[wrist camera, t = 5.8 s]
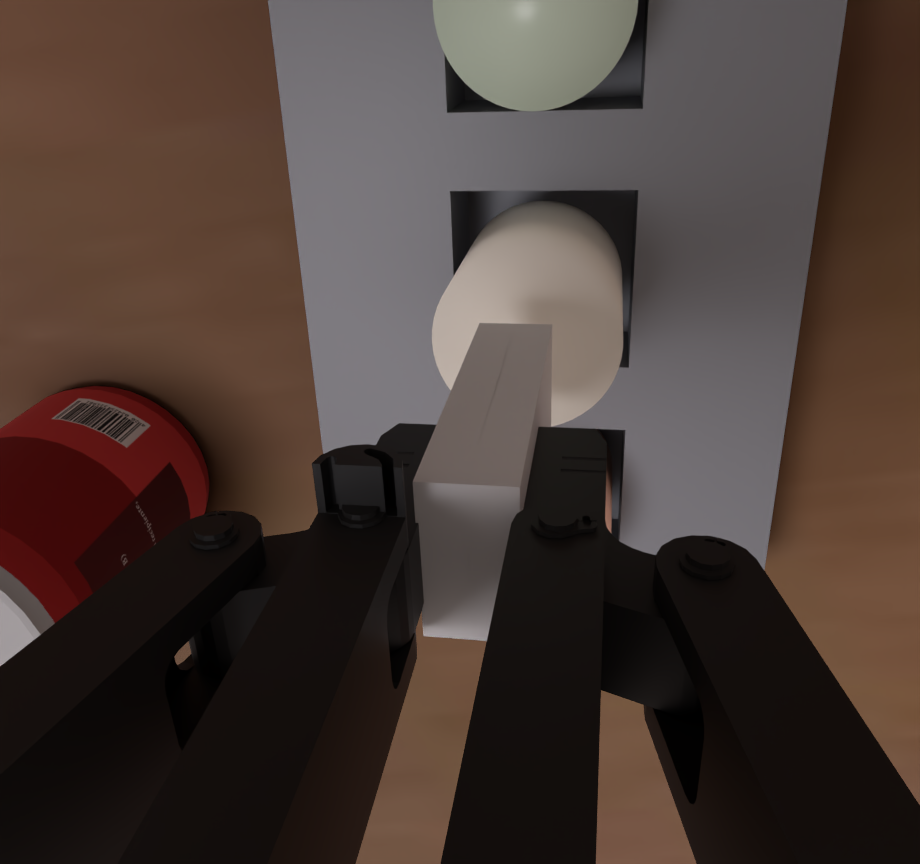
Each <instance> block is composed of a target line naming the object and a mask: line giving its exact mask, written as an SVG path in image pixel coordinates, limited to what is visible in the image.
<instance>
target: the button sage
mask: <svg viewBox="0 0 920 864" xmlns="http://www.w3.org/2000/svg"><path fill="white" fill-rule="evenodd" d="M637 7H638V0H433V14H434V22H435V27H436V31H437V36H438V38H439V41H440V44H441V47H442V49H443V52H444V54H445V56H446V58H447V60H448V61H449V63H450V65H451V66H452V68H453V69H454V71H455V72H456V73H457V75H458V76H459V77H460V78H461V79H462V80H463V82H464V83H465V84H467V85H468V86H469V87H470V88H471V89H472V90H473V91H474V92H476V93H477V94H479V95H480V96H482V97H483V98H485V99H486V100H488V101H490V102H492V103H494V104H497V105H499V106H502V107H505V108H508V109H514V110H519V111H533V112H534V111H545V110H550V109H554V108H559V107H561V106H564V105H567V104H569V103H572V102H574V101H576V100H577V99H579V98H581V97H583V96H584V95H586V94H587V93H589V92H590V91H591V90H593V89H594V88H595V87H596V86H597V85H598V84H600V83H601V82H602V81H603V80H604V79H605V78H606V77H607V75H608V74H609V73H610V72H611V71H612V69H613V68H614V67H615V65H616V64H617V62H618V61H619V59H620V58H621V56H622V54H623V52H624V50H625V48H626V46H627V44H628V42H629V39H630V36H631V34H632V31H633V28H634V23H635V19H636V15H637Z"/></svg>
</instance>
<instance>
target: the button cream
mask: <svg viewBox="0 0 920 864" xmlns="http://www.w3.org/2000/svg"><path fill="white" fill-rule="evenodd" d="M479 323H510V324H552V397H551V427H552V426H556V425H560V424H563V423H565V422H568V421H570V420H573V419H574V418H576V417H578V416H580V415H582V414H583V413H585V412H586V411H587V410H589V409H590V408H591V407H593V406H594V405H595V404H596V403H597V402H598V401H599V400H600V399H601V398H602V397H603V395H604V394H605V393H606V392H607V390H608V389H609V387H610V385H611V384H612V382H613V380H614V378H615V376H616V374H617V371H618V369H619V365H620V362H621V358H622V351H623V295H622V267H621V261H620V257H619V254H618V251H617V249H616V246H615V244H614V242H613V240H612V239H611V237H610V236H609V234H608V232H607V231H606V230H605V229H604V228H603V227H602V225H601V224H600V223H599V222H597V221H596V220H595V219H594V218H593V217H591V216H590V215H589V214H587V213H586V212H584V211H582V210H580V209H578V208H576V207H574V206H571V205H568V204H565V203H561V202H555V201H531V202H526V203H522V204H519V205H516V206H513V207H511V208H509V209H507V210H505V211H503V212H501V213H500V214H499V215H497V216H496V217H494V218H493V219H492V220H491V221H490V222H489V223H488V224H486V226H485V227H484V228H483V229H482V230H481V232H480V233H479V234H478V236H477V238H476V239H475V241H474V242H473V244H472V246H471V247H470V249H469V251H468V253H467V254H466V256H465V258H464V259H463V261H462V263H461V265H460V266H459V268H458V270H457V271H456V273H455V275H454V276H453V278H452V280H451V282H450V283H449V285H448V287H447V288H446V290H445V292H444V293H443V295H442V297H441V299H440V302H439V304H438V306H437V309H436V312H435V316H434V320H433V326H432V346H433V353H434V357H435V361H436V364H437V367H438V369H439V372H440V374H441V376H442V378H443V380H444V381H445V383H446V385H447V386H448V388H449V389H450V390H451V389H452V387H453V385H454V382H455V380H456V377H457V375H458V373H459V370H460V368H461V366H462V363H463V361H464V358H465V356H466V354H467V351H468V349H469V347H470V344H471V342H472V339H473V337H474V335H475V332H476V330H477V328H478V325H479Z"/></svg>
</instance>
